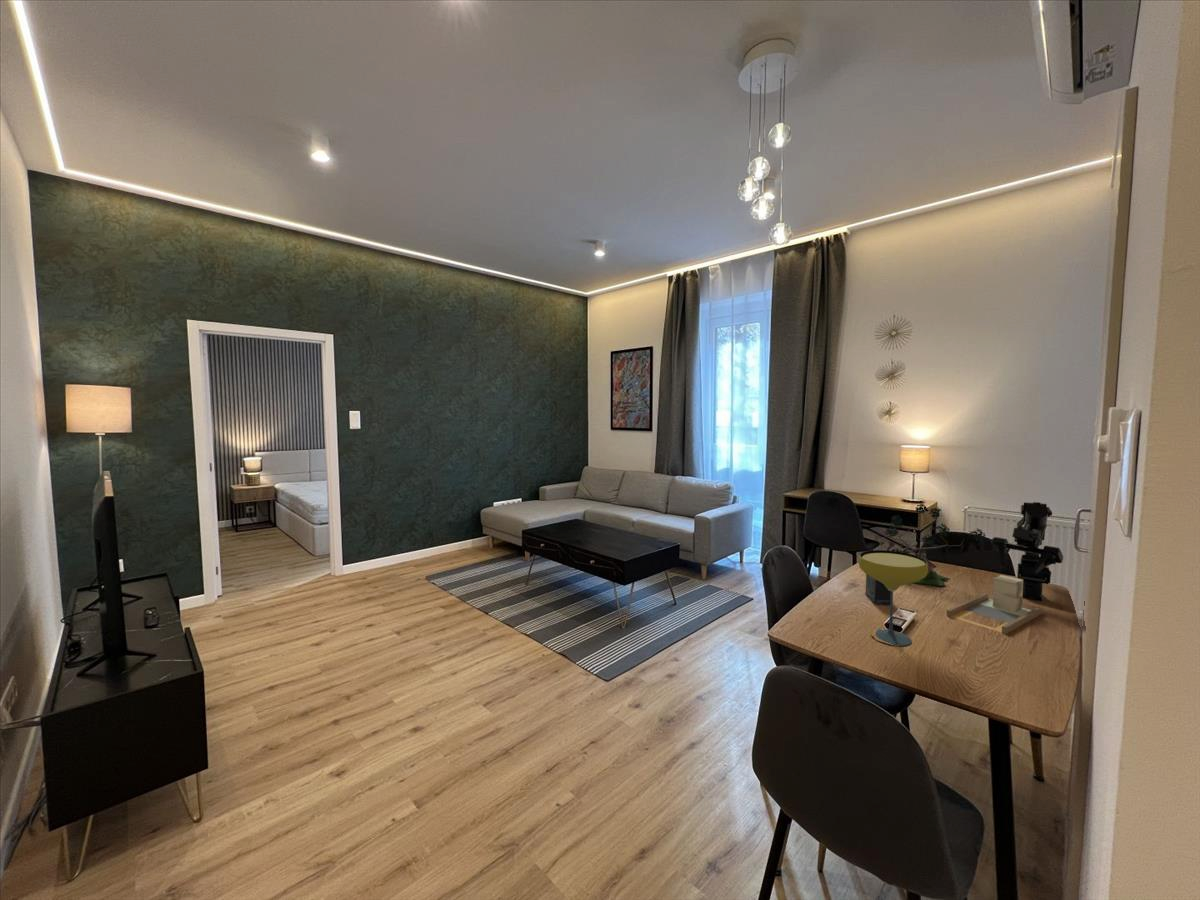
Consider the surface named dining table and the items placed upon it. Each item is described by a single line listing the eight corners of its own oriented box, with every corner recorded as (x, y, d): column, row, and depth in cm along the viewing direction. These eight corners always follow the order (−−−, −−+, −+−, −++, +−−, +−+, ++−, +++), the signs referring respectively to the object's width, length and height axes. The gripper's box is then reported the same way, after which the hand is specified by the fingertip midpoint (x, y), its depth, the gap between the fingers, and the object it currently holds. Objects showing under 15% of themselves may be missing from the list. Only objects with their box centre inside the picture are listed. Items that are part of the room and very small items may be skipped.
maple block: (1000, 602, 170) (1001, 574, 169) (1022, 608, 165) (1023, 579, 164) (992, 606, 167) (993, 578, 166) (1014, 612, 162) (1015, 583, 161)
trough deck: (984, 602, 175) (984, 592, 175) (1041, 617, 161) (1042, 607, 161) (946, 620, 161) (946, 609, 161) (1005, 638, 148) (1006, 627, 147)
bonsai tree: (872, 581, 199) (873, 504, 196) (887, 566, 216) (888, 496, 214) (980, 603, 175) (983, 515, 172) (988, 584, 192) (990, 504, 190)
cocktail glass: (844, 632, 155) (845, 554, 153) (883, 621, 162) (885, 547, 160) (899, 657, 138) (900, 571, 136) (940, 644, 145) (942, 561, 144)
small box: (894, 606, 174) (894, 577, 173) (874, 605, 175) (874, 576, 175) (883, 595, 184) (883, 567, 184) (864, 594, 186) (865, 567, 185)
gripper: (994, 515, 178) (978, 549, 174) (1061, 524, 162) (1046, 562, 158) (1002, 533, 183) (988, 567, 178) (1069, 543, 167) (1055, 581, 162)
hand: (1017, 569), depth 169 cm, fingers open, 9 cm apart
